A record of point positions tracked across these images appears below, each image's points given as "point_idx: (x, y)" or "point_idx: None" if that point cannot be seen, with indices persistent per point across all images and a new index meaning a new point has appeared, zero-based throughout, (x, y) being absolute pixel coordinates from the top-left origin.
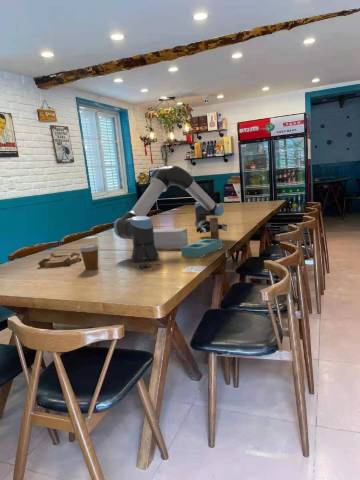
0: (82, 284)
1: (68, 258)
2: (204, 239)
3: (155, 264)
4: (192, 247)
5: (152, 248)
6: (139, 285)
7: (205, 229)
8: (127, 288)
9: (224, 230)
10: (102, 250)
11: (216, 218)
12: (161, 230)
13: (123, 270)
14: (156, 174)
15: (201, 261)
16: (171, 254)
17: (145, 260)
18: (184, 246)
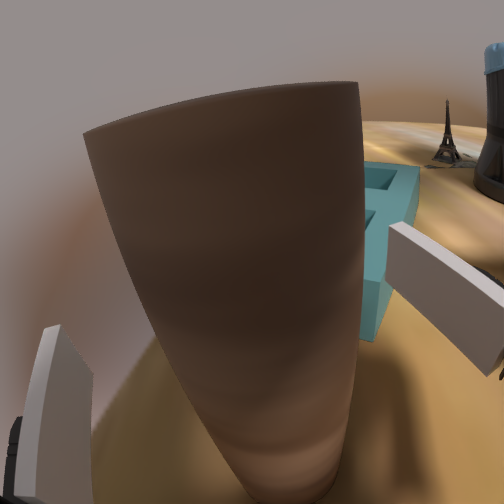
0: (472, 135)
1: None
2: (371, 263)
3: (440, 167)
4: (364, 164)
5: (484, 145)
6: (382, 132)
7: (392, 227)
8: (392, 129)
9: (89, 427)
10: None
11: (156, 108)
12: None
13: (476, 154)
14: None
15: None
16: (480, 220)
17: (449, 144)
18: (411, 171)
